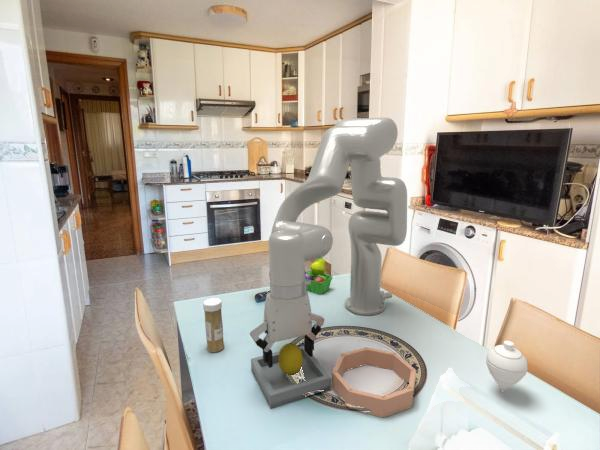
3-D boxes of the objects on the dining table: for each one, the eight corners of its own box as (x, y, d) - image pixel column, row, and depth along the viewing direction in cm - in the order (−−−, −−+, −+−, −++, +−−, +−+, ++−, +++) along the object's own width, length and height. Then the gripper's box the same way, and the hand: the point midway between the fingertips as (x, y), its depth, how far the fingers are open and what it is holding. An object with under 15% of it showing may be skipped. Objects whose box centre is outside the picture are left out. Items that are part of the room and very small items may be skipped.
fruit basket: (295, 288, 134) (295, 259, 131) (310, 281, 140) (310, 253, 138) (320, 296, 127) (321, 266, 124) (335, 288, 133) (335, 259, 131)
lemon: (300, 384, 80) (300, 351, 78) (276, 381, 81) (275, 348, 79) (305, 369, 85) (304, 338, 84) (282, 366, 86) (281, 335, 85)
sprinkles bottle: (224, 351, 95) (221, 303, 91) (206, 354, 94) (202, 305, 90) (224, 342, 99) (221, 296, 96) (206, 344, 98) (203, 298, 95)
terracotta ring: (382, 356, 91) (382, 342, 90) (431, 399, 76) (432, 383, 75) (321, 374, 85) (321, 359, 84) (361, 425, 70) (362, 407, 69)
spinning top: (529, 407, 74) (537, 354, 71) (488, 403, 75) (495, 351, 72) (514, 382, 81) (521, 334, 78) (477, 379, 83) (483, 331, 80)
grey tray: (304, 355, 92) (304, 345, 92) (331, 389, 80) (331, 377, 79) (251, 369, 87) (250, 358, 86) (270, 408, 74) (270, 395, 74)
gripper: (316, 275, 85) (316, 341, 89) (243, 288, 78) (247, 359, 82) (331, 287, 78) (330, 358, 82) (253, 302, 71) (257, 378, 75)
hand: (289, 358), depth 82 cm, fingers open, 9 cm apart
